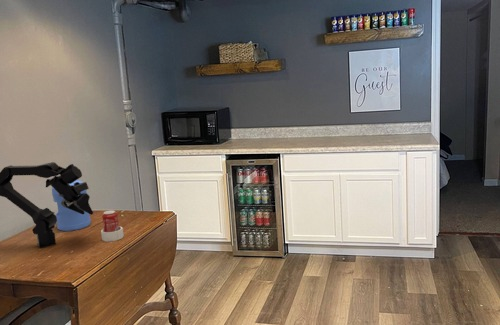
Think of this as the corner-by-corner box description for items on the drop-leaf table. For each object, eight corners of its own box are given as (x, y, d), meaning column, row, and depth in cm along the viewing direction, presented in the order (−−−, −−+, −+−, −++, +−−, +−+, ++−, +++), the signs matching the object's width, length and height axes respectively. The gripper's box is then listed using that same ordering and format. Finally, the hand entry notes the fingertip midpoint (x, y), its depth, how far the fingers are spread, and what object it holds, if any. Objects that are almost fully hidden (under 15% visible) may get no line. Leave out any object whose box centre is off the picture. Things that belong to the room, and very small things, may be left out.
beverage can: (114, 234, 216) (111, 209, 214) (123, 237, 212) (119, 211, 210) (102, 239, 211) (99, 213, 209) (111, 241, 208) (107, 214, 205)
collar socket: (106, 243, 206) (104, 234, 205) (99, 238, 213) (98, 229, 213) (126, 237, 211) (125, 229, 210) (119, 233, 218) (118, 224, 218)
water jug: (96, 221, 241) (89, 166, 236) (80, 231, 226) (72, 173, 221) (68, 221, 244) (60, 167, 239) (50, 231, 228) (42, 174, 224)
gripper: (85, 174, 202) (109, 200, 208) (68, 176, 216) (92, 201, 222) (66, 192, 196) (91, 219, 202) (50, 194, 210) (74, 218, 216)
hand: (88, 213), depth 211 cm, fingers open, 9 cm apart
